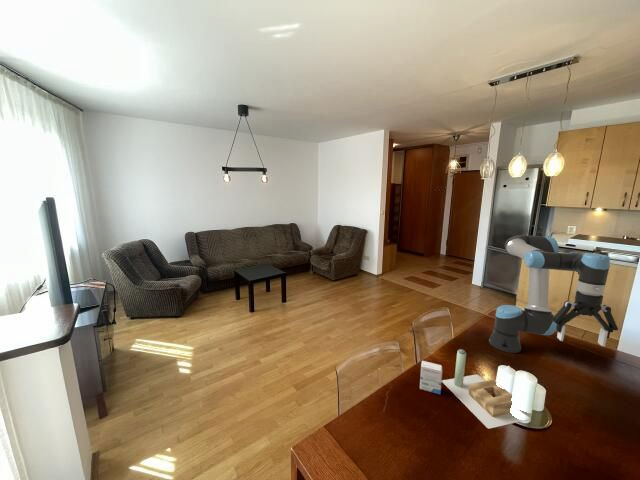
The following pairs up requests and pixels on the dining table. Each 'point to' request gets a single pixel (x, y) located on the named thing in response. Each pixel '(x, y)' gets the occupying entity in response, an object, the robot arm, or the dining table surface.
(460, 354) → the pale green cylinder
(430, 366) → the ink box
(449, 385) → the grey mat
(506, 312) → the robot arm
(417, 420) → the dining table surface
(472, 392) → the wooden square holder
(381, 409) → the dining table surface
